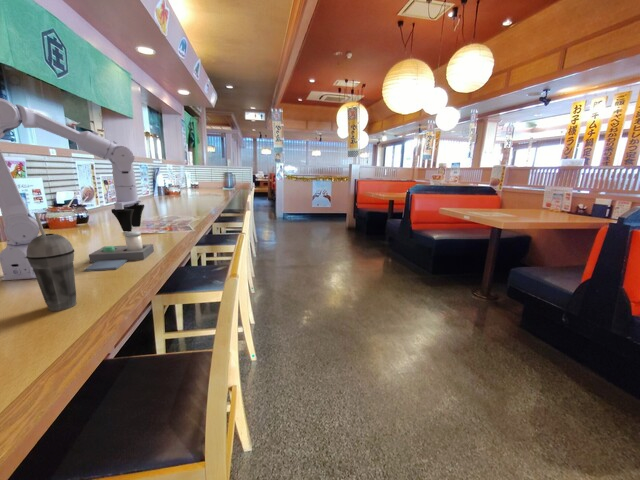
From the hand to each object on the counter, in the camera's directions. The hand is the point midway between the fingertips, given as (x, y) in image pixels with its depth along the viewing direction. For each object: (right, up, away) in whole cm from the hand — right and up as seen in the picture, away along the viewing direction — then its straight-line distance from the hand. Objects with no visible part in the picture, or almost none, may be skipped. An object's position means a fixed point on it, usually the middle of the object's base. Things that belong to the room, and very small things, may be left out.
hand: (132, 228), depth 95 cm
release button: (-7, -9, 0) cm, 11 cm away
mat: (-2, -11, -8) cm, 14 cm away
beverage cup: (+7, -18, -33) cm, 38 cm away
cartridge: (0, -9, +2) cm, 9 cm away
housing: (-3, -9, +1) cm, 10 cm away
